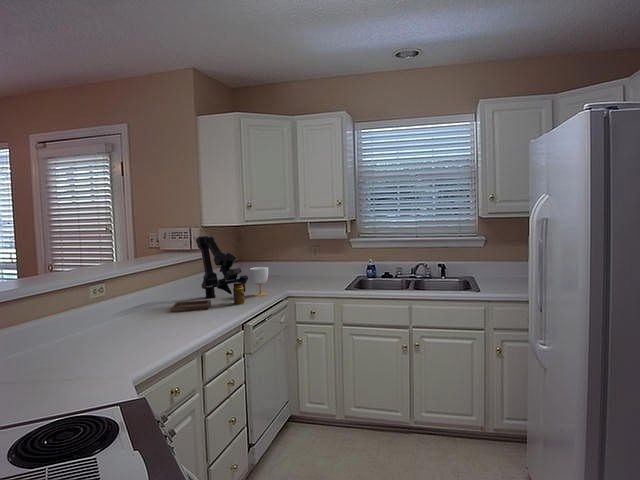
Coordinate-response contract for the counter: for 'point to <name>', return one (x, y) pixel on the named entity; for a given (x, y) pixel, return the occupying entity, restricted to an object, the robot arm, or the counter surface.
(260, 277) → the cup
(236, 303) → the condiment
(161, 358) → the counter surface
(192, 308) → the tray
